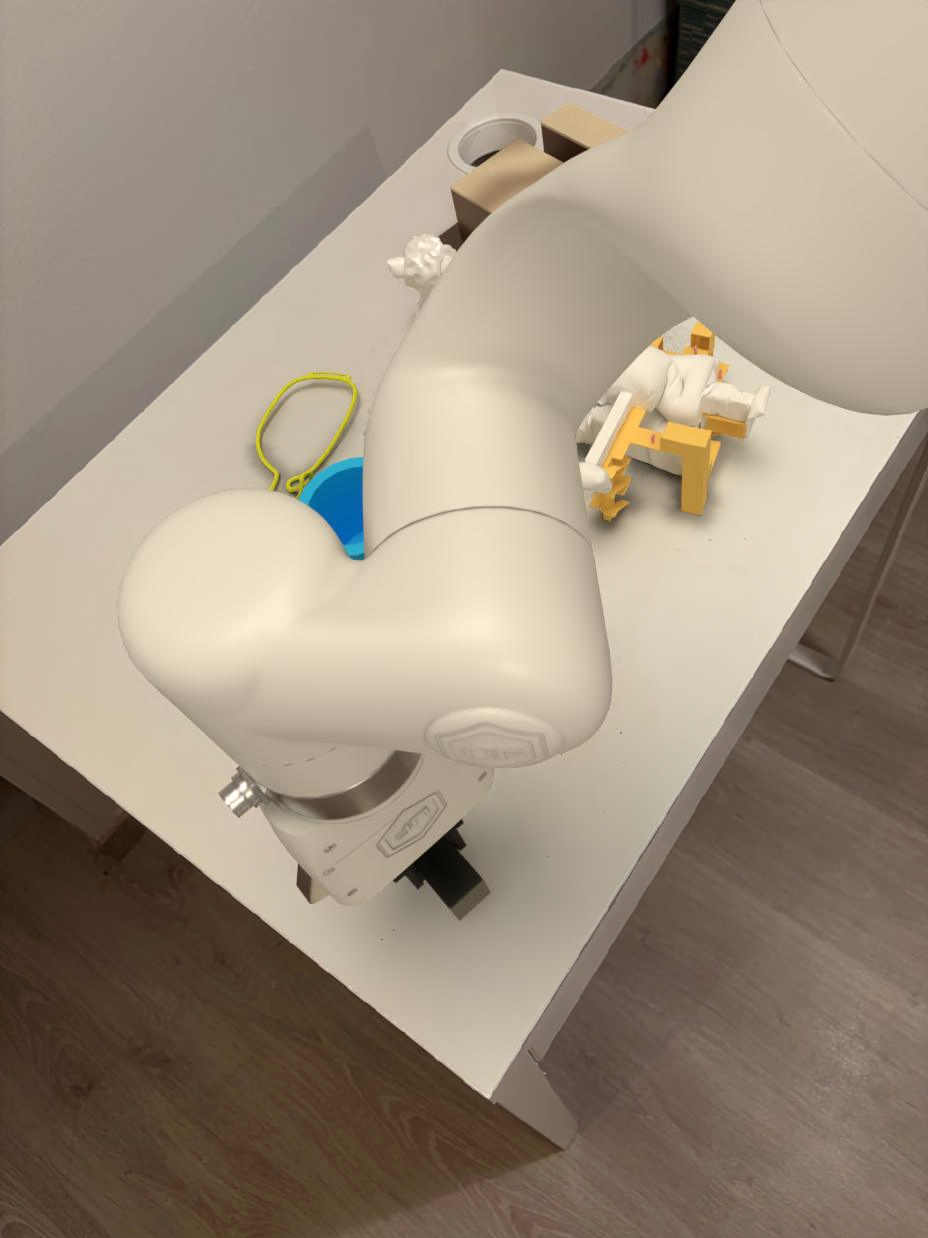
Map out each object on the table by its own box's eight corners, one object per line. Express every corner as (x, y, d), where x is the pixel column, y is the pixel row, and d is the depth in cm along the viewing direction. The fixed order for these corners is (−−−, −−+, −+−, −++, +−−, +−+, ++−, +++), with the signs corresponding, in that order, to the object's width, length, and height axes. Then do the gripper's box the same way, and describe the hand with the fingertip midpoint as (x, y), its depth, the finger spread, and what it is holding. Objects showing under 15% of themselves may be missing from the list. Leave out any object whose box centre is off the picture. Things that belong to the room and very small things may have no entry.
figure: (481, 399, 75) (461, 311, 67) (693, 328, 75) (697, 231, 67) (547, 568, 66) (532, 489, 58) (788, 488, 66) (806, 398, 58)
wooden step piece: (651, 197, 82) (651, 142, 78) (624, 218, 81) (622, 163, 77) (573, 156, 87) (568, 101, 82) (546, 175, 86) (540, 121, 82)
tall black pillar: (491, 892, 53) (481, 876, 50) (459, 921, 52) (448, 907, 49) (272, 641, 64) (253, 616, 61) (244, 664, 63) (223, 640, 60)
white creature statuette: (528, 317, 79) (508, 193, 69) (505, 394, 75) (480, 274, 65) (423, 312, 82) (389, 192, 71) (396, 386, 78) (356, 270, 68)
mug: (368, 511, 72) (336, 442, 65) (458, 545, 69) (435, 476, 62) (282, 636, 67) (238, 577, 60) (374, 679, 64) (340, 621, 57)
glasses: (301, 371, 81) (281, 330, 77) (398, 396, 77) (384, 354, 73) (138, 606, 71) (106, 573, 67) (241, 646, 68) (214, 614, 64)
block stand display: (689, 222, 81) (691, 156, 76) (555, 326, 78) (548, 265, 72) (563, 155, 89) (557, 91, 83) (436, 247, 86) (422, 186, 80)
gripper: (224, 930, 35) (357, 998, 51) (537, 658, 38) (571, 801, 54) (131, 792, 39) (282, 896, 54) (425, 554, 42) (487, 717, 58)
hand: (425, 848), depth 54 cm, fingers closed on tall black pillar, 2 cm apart
